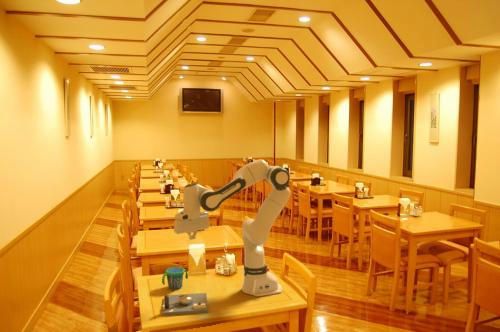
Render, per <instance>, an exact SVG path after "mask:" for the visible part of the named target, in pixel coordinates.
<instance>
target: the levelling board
mask: <svg viewBox="0 0 500 332" xmlns="http://www.w3.org/2000/svg"><path fill="white" fill-rule="evenodd" d="M187 294H188V295H191V296H192V304H190V305H186V306H183V305H179V304H176V305H173V306H169V308H168V309H165V304H164V303H163V305H161V307H162V311H161V313H162V314H161V315H162V317H165V316H166V317H167V316H168V317H169V316H178V315H179V316H180V315H181V316H182V315H194V314H195V315H196V314H208V313H209V308H208V307H209V305H208V296H207V292H202V293H200V292H199V293H187ZM167 295H168V296H169V303H172V302H175V301H179V300H178V297H179V296H181V295H185V293H183V294H167Z"/></svg>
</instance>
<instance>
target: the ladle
mask: <svg viewBox="0 0 500 332" xmlns="http://www.w3.org/2000/svg"><path fill="white" fill-rule="evenodd" d="M184 294H185V293H184ZM188 294H189V293H186V294H185V295H181V296H179V297H178V300H179V301H175V302H172V303H169V296H168V295H169V294H165V295H164V296H163V297H164V298H163V305H164V304H165V309H168V308H169V306H173V305H176V304H179V305H183V306H186V305H190V304H192V296H191V295H188Z"/></svg>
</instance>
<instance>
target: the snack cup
mask: <svg viewBox="0 0 500 332" xmlns="http://www.w3.org/2000/svg"><path fill="white" fill-rule="evenodd" d="M165 277H166V280H167V285H168V286H167V287H168V288H169V289H170V290H179V289H182V287H183V281H184V278H185V279H186V280H188V279H189V273H188V271H187V269H185V268H184V267H180V266H179V267H178V266H173V267H169V268H167V269H166V270H165V272H164V273H163V275H162V278H161V282H162V283H161V284H162V285H163V286H165V285H166V283H165Z"/></svg>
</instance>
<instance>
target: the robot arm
mask: <svg viewBox="0 0 500 332" xmlns="http://www.w3.org/2000/svg"><path fill="white" fill-rule="evenodd" d="M290 175H291V174H290V172H289V171H288V169H286V168H284V167H282V166H278V165H269V164H268V162H267V161H266V160H264V159H257V160H254V161H252V162H249V163H247V164H245V165H244V166H241V167H240V168H238V170H237V171H236V172H235V173H234V175H233V178H232V180H231V181H230V182H229V183H227V184H225V185H224V186H222V187H221V188H219V189H218V190H214V189H211V188H208V187H205V186H202V185H200V184H199V183H198V182H197V183H196V182H191V183H189V184H187V185H185V186H184V188H183V193H182V194H183V195H182V196H183V198H182V199H183V200H182V201H183V210H181V211H180V212H176V214H175V215H174V218H175V219H174V222H173V232H174V233H175V234H177V235H181V234H184V233H186V235H188V239H189V241H191V240H196V236H197V234H198V231H202V230H206V229H207V230H208V229H209V227H210V226H211V225H210V220H209V219H210V217H209V216H210V215H209V213H208V212H214V211H216V210H218V209H219V207H221V205H222V203H223V202H225V201H227V200H228V199H229V198H231V197H232V196H234V195H236V194H237V193H239V192H241V191H242V190H244V189H246V188H249V187H251V186H253V185H254V184H256V183H258V182H259V181H263V180H264V181H265V182H266V183H267V184H269V185H271V190H270V192H269V194H268V195H267V196H266V197H265V199H264V200H263V202H262V203H261V205H259V207H258V209H257V210H258V211H257V213H256V215H255V218H247V219H245V220H244V221H243V222H242V225H241V229H242V230H241V231H242V242H243V250H244V264H243V283H242V287H241V291H242V292H243V293H245V294H248V295H251V296H254V297H262V296H270V295H277V294H281V293H282V292H283V287H282V285H281V284H280V283H279V282H278V278H277V277H276V276H275V275H274V274H273V273H272V272H270V271H271V269H270V267H269V266H268V264H266V263H265V248H264V244H265V243H267V241H268V239H269V234H270V232H271V229H272V227H273V226H274V223H275V221H276V220H277V218H278V216H279V215H280V214H281V212H282V211H283V209H284V208H285V206H286V205H287V203H288V201H289V199H290V197H291V196H292V195H291V190H290V188H289V184H290V183H289V182H290V179H291V177H290ZM201 208H202V209H203V210H204V211H201ZM192 233H193V234H192Z"/></svg>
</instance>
